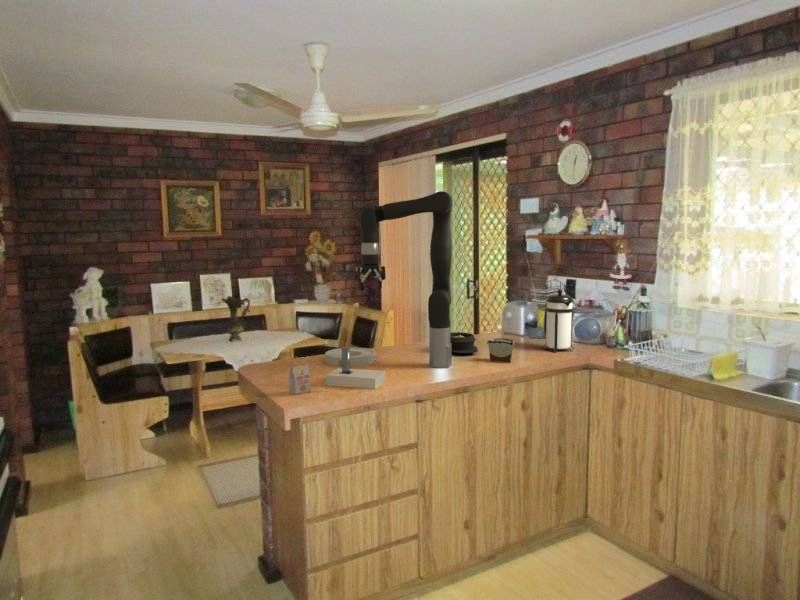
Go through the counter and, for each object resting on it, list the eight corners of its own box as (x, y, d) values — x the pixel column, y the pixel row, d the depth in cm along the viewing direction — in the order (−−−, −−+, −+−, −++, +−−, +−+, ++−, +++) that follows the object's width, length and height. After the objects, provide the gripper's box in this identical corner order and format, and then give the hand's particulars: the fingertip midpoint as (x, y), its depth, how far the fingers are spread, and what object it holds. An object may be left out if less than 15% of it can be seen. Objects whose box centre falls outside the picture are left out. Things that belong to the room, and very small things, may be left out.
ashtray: (385, 362, 258) (385, 353, 258) (339, 369, 246) (338, 360, 246) (361, 353, 278) (360, 345, 277) (317, 359, 266) (316, 351, 265)
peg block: (385, 381, 225) (385, 371, 224) (375, 388, 213) (375, 378, 213) (338, 377, 231) (338, 368, 230) (326, 385, 219) (325, 375, 219)
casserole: (487, 355, 271) (487, 337, 270) (451, 358, 265) (451, 340, 264) (464, 345, 295) (464, 329, 294) (431, 348, 288) (431, 331, 287)
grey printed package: (289, 393, 208) (288, 366, 207) (305, 390, 213) (305, 363, 211) (294, 395, 206) (293, 368, 204) (310, 392, 210) (310, 365, 209)
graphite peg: (351, 381, 224) (350, 346, 223) (348, 383, 221) (347, 348, 220) (344, 381, 225) (343, 346, 224) (340, 383, 222) (340, 347, 220)
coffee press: (578, 348, 285) (580, 288, 281) (569, 354, 271) (570, 291, 268) (544, 345, 294) (545, 287, 290) (533, 350, 281) (535, 289, 277)
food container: (517, 360, 259) (517, 338, 258) (513, 363, 254) (514, 341, 252) (490, 358, 264) (490, 336, 263) (486, 360, 259) (487, 339, 258)
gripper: (359, 253, 241) (360, 292, 243) (388, 253, 249) (388, 290, 251) (351, 253, 247) (352, 290, 249) (379, 252, 255) (380, 288, 257)
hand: (370, 290), depth 250 cm, fingers open, 8 cm apart
